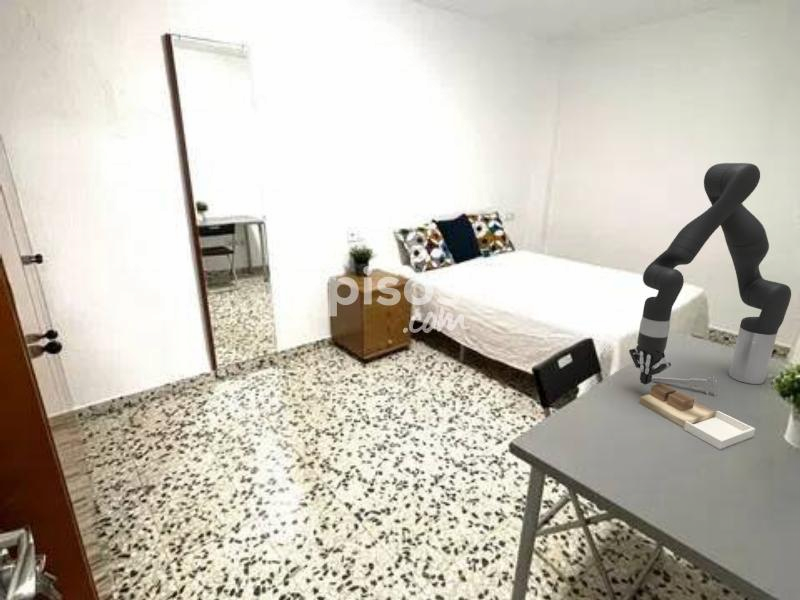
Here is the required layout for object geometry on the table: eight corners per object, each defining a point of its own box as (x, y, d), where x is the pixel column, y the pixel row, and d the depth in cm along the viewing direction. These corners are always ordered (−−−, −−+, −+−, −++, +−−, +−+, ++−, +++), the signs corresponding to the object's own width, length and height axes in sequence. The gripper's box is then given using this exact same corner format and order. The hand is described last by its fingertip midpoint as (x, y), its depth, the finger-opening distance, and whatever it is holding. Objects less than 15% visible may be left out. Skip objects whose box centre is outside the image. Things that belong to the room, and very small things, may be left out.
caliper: (715, 395, 128) (719, 377, 126) (715, 397, 127) (719, 379, 125) (640, 378, 139) (643, 361, 137) (640, 380, 138) (642, 363, 136)
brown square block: (660, 391, 126) (662, 382, 126) (674, 398, 122) (676, 389, 122) (649, 394, 125) (651, 385, 124) (663, 401, 121) (665, 392, 120)
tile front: (677, 400, 122) (679, 391, 121) (692, 408, 118) (694, 398, 117) (666, 403, 120) (668, 394, 119) (681, 411, 116) (683, 402, 115)
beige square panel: (667, 394, 129) (668, 388, 128) (713, 417, 116) (715, 411, 115) (639, 402, 124) (640, 396, 124) (684, 428, 112) (685, 421, 111)
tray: (716, 418, 116) (718, 410, 115) (753, 436, 108) (755, 428, 107) (683, 429, 112) (685, 421, 111) (719, 449, 103) (721, 441, 103)
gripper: (683, 337, 119) (673, 390, 124) (643, 322, 131) (635, 371, 136) (665, 341, 116) (655, 395, 121) (625, 326, 128) (618, 376, 133)
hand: (644, 383), depth 129 cm, fingers closed
